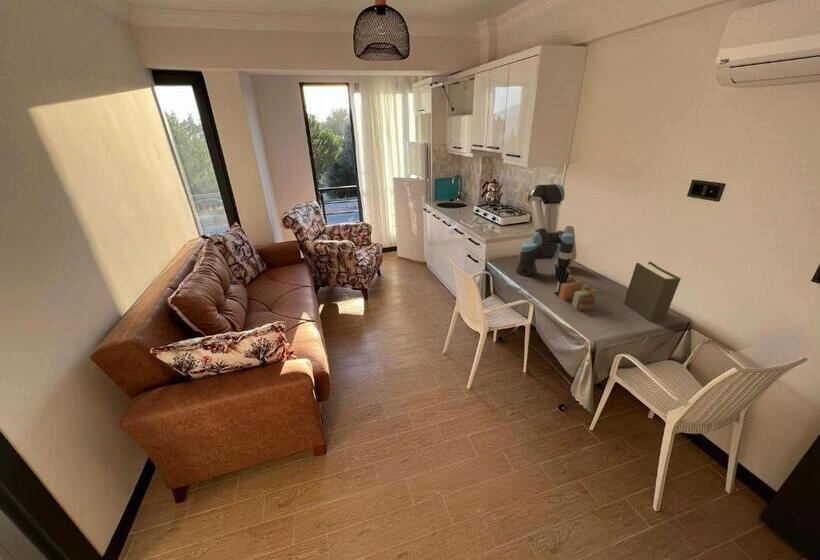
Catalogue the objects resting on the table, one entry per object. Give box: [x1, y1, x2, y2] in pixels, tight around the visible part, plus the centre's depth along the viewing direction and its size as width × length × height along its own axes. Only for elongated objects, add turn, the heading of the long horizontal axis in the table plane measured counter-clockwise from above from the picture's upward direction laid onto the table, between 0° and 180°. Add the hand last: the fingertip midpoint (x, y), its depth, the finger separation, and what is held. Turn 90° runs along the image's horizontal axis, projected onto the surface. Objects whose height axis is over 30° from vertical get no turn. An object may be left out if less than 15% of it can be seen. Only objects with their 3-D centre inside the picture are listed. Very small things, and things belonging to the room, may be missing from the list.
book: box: [623, 261, 682, 323], centre depth 189 cm, size 22×9×28 cm, turn 8°
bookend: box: [553, 281, 571, 298], centre depth 216 cm, size 5×8×10 cm, turn 107°
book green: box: [571, 290, 590, 309], centre depth 202 cm, size 4×8×10 cm, turn 107°
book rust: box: [558, 282, 576, 301], centre depth 212 cm, size 4×8×10 cm, turn 107°
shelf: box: [567, 274, 597, 312], centre depth 208 cm, size 25×11×12 cm, turn 17°
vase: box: [554, 225, 578, 268], centre depth 250 cm, size 17×17×33 cm
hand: (558, 290), depth 219 cm, fingers closed
